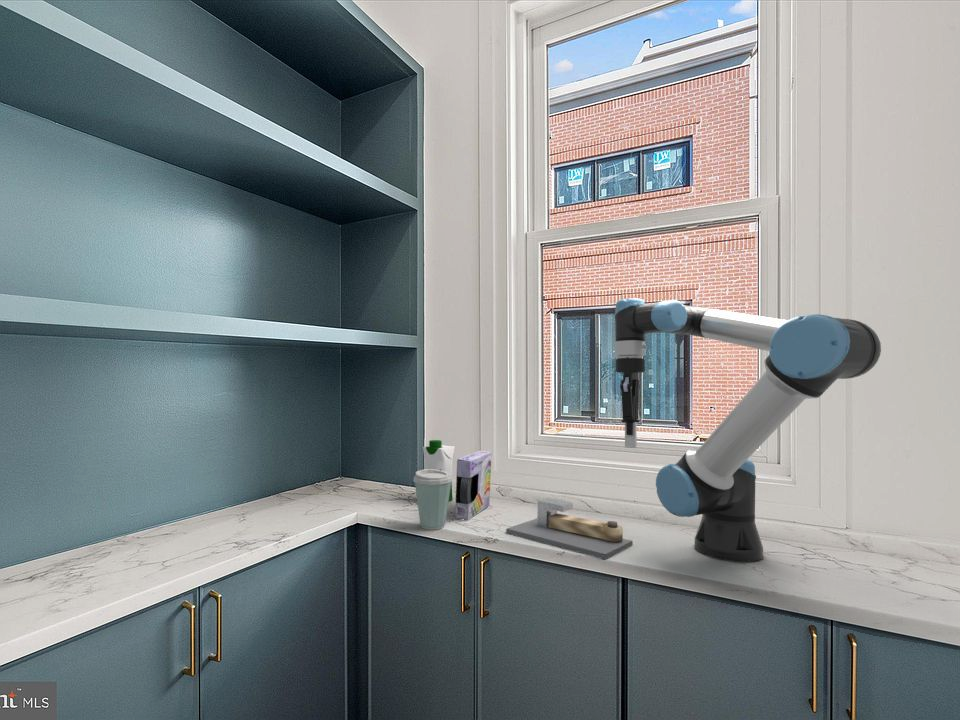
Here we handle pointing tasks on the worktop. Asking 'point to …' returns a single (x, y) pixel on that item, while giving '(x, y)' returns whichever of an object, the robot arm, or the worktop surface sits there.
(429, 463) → the milk carton
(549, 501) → the block
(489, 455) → the cake pan box
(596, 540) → the board
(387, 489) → the worktop surface
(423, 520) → the disposable coffee cup
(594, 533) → the brass link
